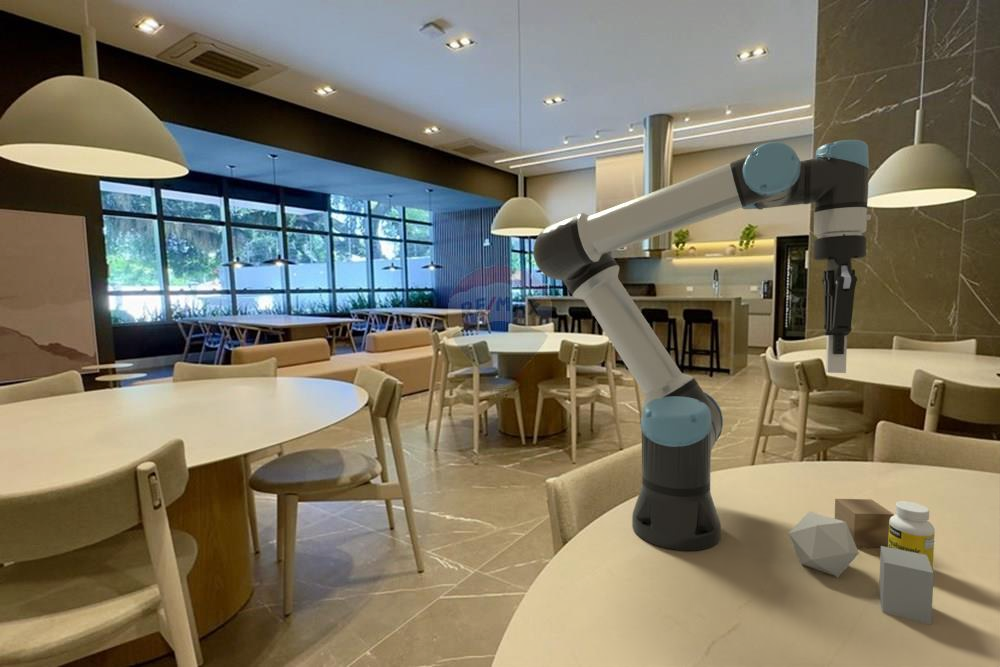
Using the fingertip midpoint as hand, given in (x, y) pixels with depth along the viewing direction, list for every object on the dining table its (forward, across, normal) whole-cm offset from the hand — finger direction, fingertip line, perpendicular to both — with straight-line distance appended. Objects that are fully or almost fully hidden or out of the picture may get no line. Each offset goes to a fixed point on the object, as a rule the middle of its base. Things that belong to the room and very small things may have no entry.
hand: (835, 372), depth 89 cm
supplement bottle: (+29, -11, -8) cm, 32 cm away
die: (+29, -15, +4) cm, 33 cm away
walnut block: (+29, -3, -4) cm, 29 cm away
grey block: (+29, -23, -4) cm, 37 cm away
